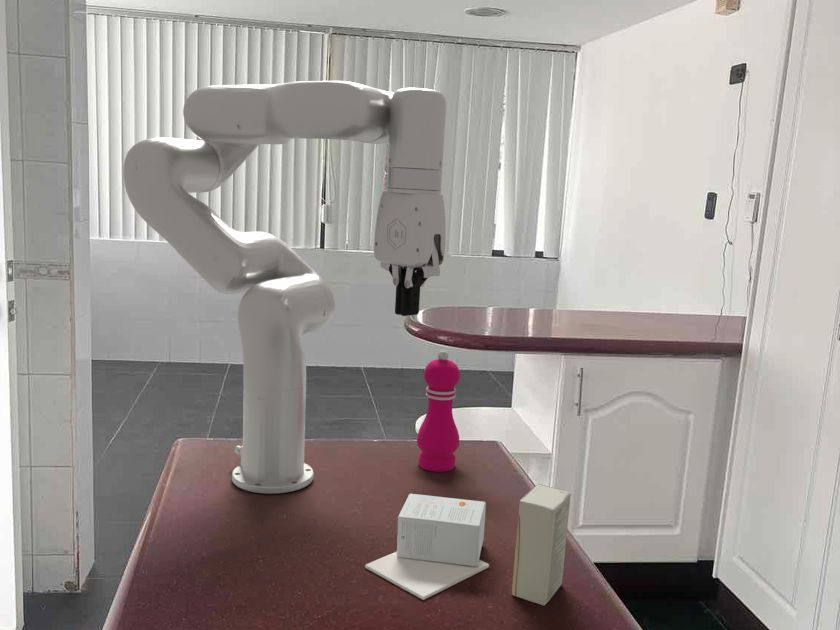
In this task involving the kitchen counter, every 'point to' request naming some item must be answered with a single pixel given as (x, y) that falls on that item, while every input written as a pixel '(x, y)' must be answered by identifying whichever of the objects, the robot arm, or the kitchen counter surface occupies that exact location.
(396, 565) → the mat
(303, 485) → the robot arm
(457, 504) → the small box
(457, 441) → the pepper mill
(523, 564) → the skincare box
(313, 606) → the kitchen counter surface
